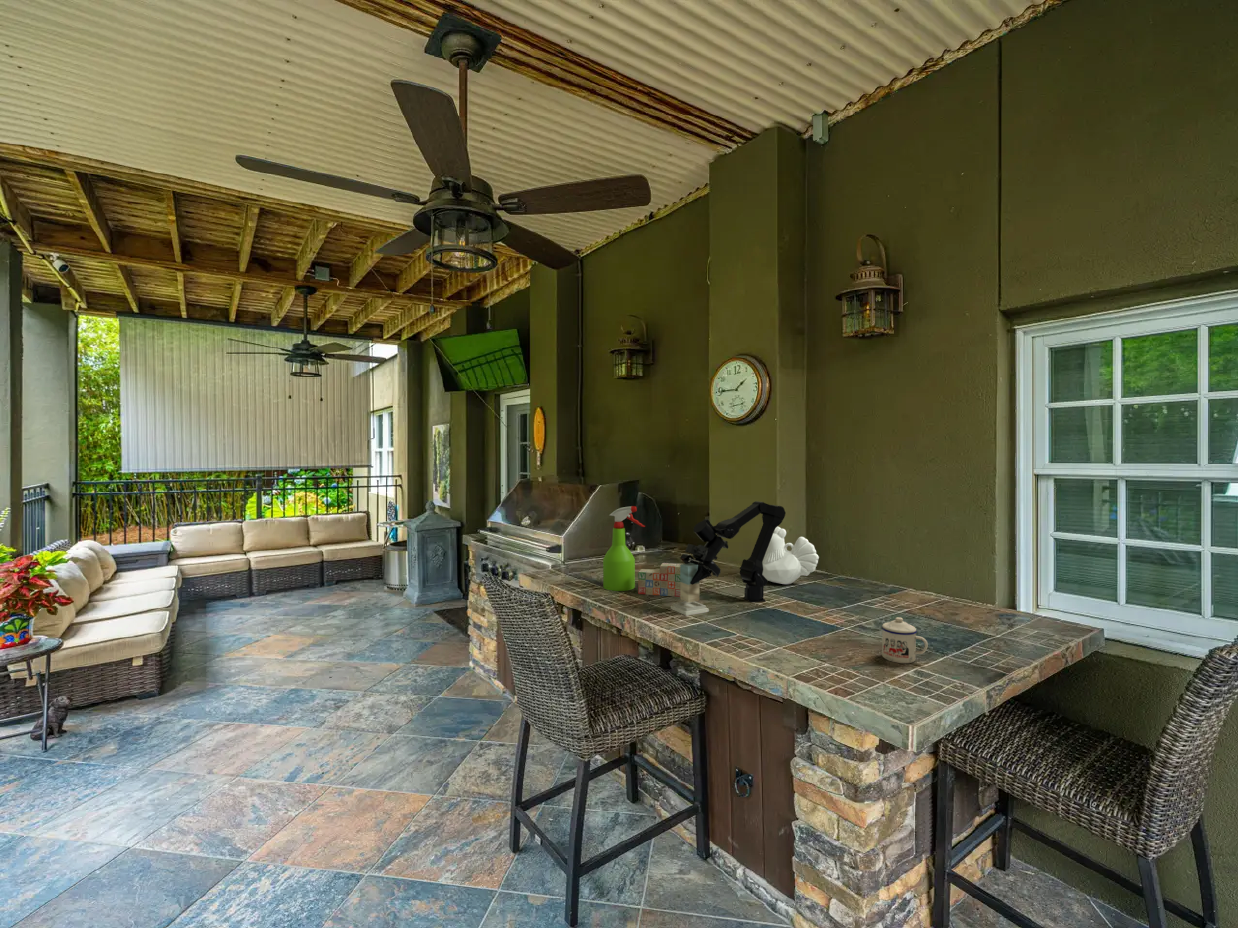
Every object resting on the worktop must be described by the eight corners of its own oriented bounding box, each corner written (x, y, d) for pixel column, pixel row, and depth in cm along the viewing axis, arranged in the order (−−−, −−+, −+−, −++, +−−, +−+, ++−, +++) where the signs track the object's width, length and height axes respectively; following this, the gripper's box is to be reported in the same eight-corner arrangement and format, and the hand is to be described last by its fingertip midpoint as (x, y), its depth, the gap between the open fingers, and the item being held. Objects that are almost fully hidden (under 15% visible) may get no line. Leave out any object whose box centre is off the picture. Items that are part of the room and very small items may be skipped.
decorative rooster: (752, 582, 266) (753, 526, 266) (772, 576, 277) (772, 523, 277) (804, 592, 249) (805, 532, 248) (822, 586, 260) (823, 528, 259)
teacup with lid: (877, 659, 171) (878, 618, 171) (885, 650, 179) (886, 611, 178) (923, 668, 164) (924, 626, 164) (930, 659, 171) (931, 618, 171)
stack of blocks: (637, 594, 246) (637, 564, 246) (640, 590, 252) (640, 561, 252) (690, 597, 241) (690, 567, 240) (691, 593, 247) (692, 564, 247)
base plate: (692, 605, 229) (692, 599, 229) (708, 611, 220) (708, 605, 220) (670, 608, 224) (670, 602, 224) (686, 615, 215) (686, 609, 215)
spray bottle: (641, 592, 249) (641, 508, 247) (599, 590, 253) (599, 507, 252) (647, 584, 262) (647, 504, 261) (607, 582, 266) (607, 503, 265)
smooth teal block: (691, 597, 225) (691, 563, 225) (699, 600, 221) (699, 565, 220) (680, 599, 223) (680, 564, 222) (688, 602, 218) (688, 567, 218)
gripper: (684, 532, 231) (659, 564, 226) (714, 539, 215) (688, 573, 210) (700, 551, 235) (677, 582, 230) (731, 559, 219) (706, 593, 214)
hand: (686, 582), depth 221 cm, fingers closed on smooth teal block, 5 cm apart
